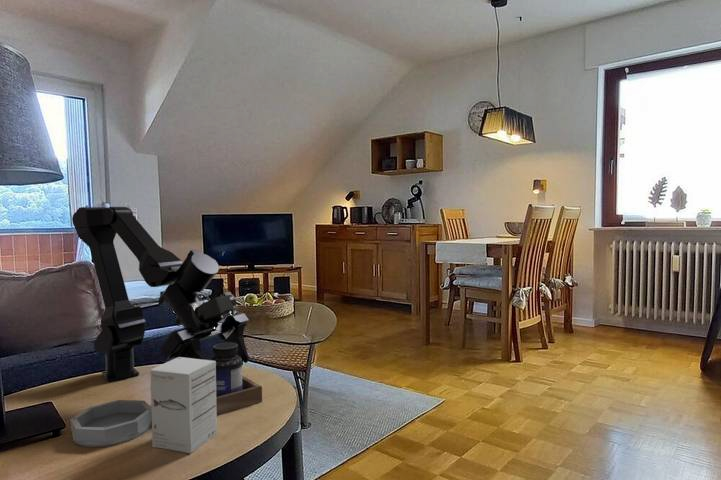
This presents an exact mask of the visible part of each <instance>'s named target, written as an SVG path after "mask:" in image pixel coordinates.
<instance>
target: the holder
mask: <svg viewBox="0 0 721 480" xmlns="http://www.w3.org/2000/svg"><path fill="white" fill-rule="evenodd" d="M259 403H263V386H262V385H260V384H258V383H256V382H254V381H253V380H252V379H249V378H248V377H246V376H244V375H242V390H241V391H237V392H234V393H230V394H226V395H222V396H219V397H216V408H217V416H218V414H219V415H222V414H225V413H228V411H229V412H232V411H234V410H235V411H236V410H239V409H241V408H245V407H248V406H253V405H256V404H259Z"/></svg>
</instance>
